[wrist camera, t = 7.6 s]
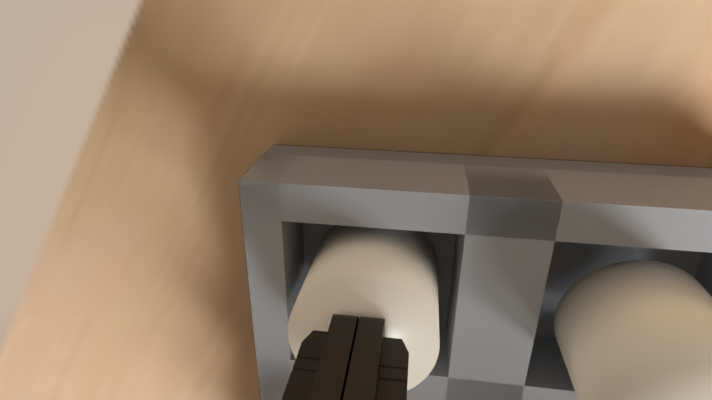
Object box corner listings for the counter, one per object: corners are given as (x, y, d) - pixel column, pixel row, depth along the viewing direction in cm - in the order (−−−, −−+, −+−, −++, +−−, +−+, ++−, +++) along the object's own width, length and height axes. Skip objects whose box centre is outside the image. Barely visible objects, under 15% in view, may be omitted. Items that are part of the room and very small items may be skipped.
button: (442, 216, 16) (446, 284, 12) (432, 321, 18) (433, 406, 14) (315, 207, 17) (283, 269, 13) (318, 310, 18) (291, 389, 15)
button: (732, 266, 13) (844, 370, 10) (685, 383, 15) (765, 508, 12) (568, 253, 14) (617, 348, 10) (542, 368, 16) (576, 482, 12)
